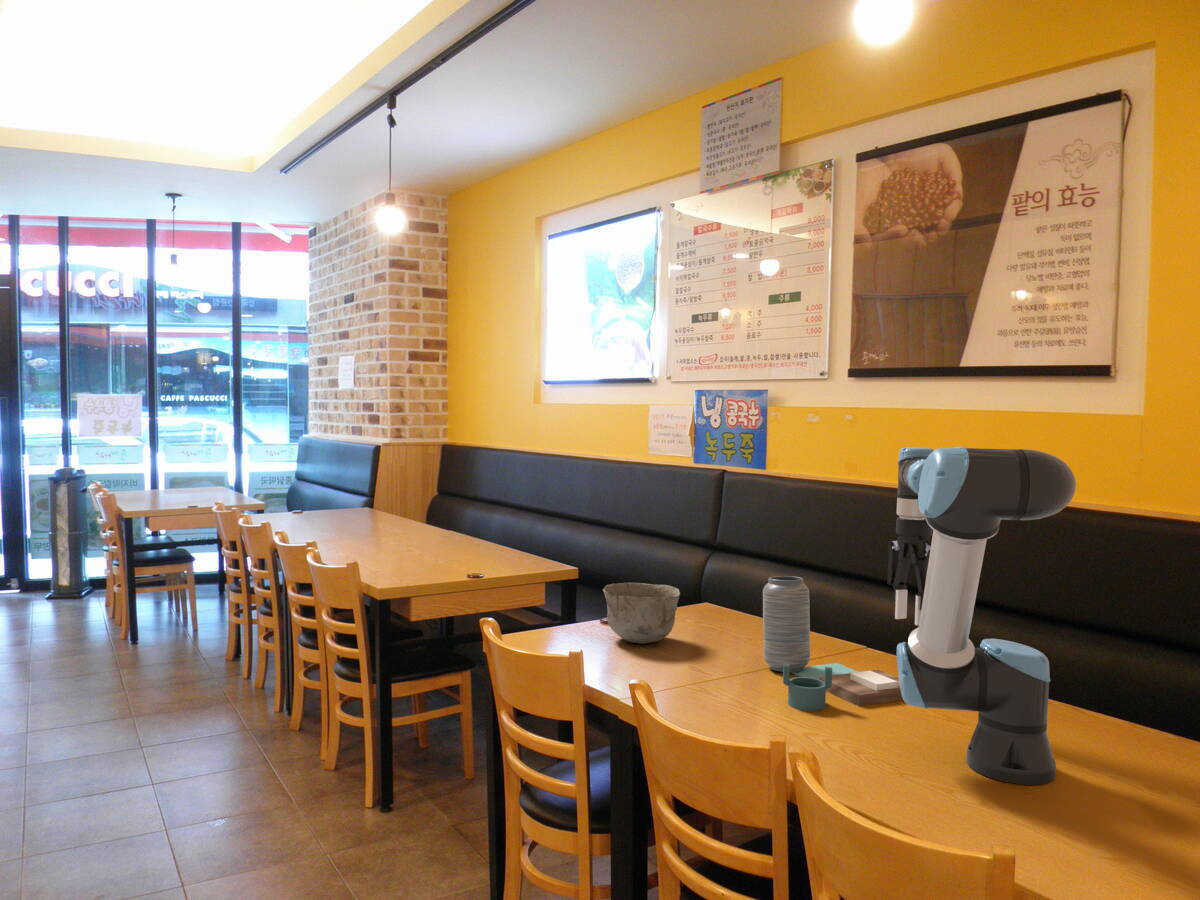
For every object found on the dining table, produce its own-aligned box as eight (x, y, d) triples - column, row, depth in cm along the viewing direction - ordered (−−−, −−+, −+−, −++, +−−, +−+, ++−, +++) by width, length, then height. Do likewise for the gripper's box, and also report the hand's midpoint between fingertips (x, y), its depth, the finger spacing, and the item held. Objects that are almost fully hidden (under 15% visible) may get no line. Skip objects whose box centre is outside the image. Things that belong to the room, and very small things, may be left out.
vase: (794, 661, 232) (793, 574, 232) (819, 671, 221) (818, 579, 221) (755, 665, 228) (754, 576, 228) (778, 675, 217) (777, 582, 217)
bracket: (834, 707, 196) (836, 667, 196) (804, 713, 192) (805, 673, 192) (806, 696, 204) (807, 658, 204) (776, 701, 200) (777, 662, 199)
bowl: (607, 629, 261) (608, 579, 261) (680, 633, 258) (681, 583, 258) (596, 649, 240) (597, 595, 239) (676, 654, 237) (678, 599, 236)
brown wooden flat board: (919, 696, 205) (919, 686, 205) (858, 706, 197) (859, 695, 197) (877, 679, 218) (877, 669, 218) (818, 687, 210) (819, 677, 210)
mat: (874, 679, 217) (874, 678, 217) (822, 687, 211) (822, 685, 211) (836, 664, 230) (837, 663, 230) (786, 670, 223) (786, 669, 223)
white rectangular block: (897, 687, 203) (897, 681, 203) (876, 690, 201) (877, 684, 201) (870, 676, 211) (870, 670, 211) (850, 679, 209) (850, 673, 209)
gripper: (959, 522, 187) (955, 629, 189) (897, 512, 204) (893, 611, 205) (933, 523, 184) (928, 632, 185) (872, 513, 201) (868, 613, 202)
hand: (910, 621), depth 195 cm, fingers open, 5 cm apart
